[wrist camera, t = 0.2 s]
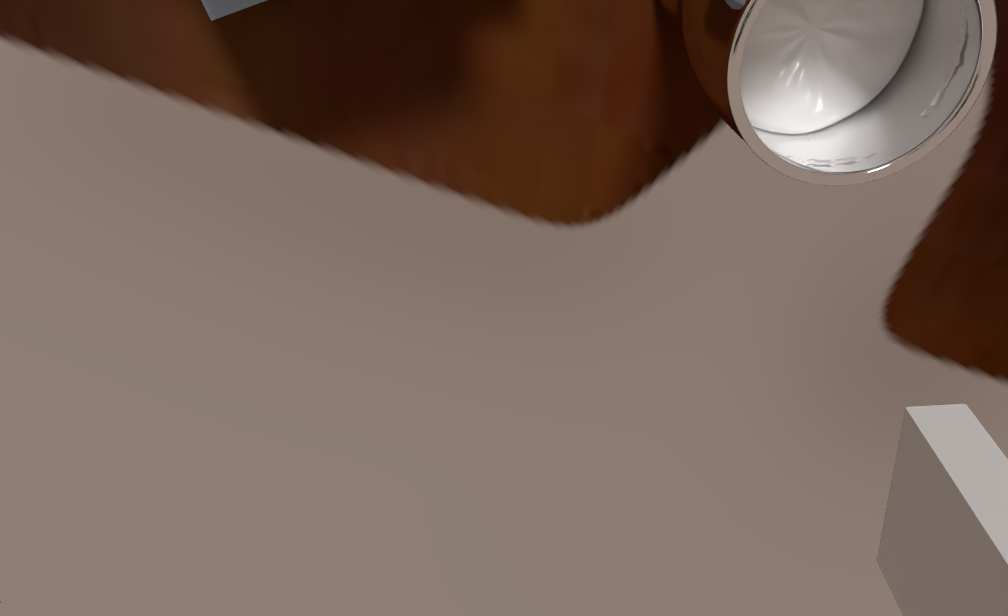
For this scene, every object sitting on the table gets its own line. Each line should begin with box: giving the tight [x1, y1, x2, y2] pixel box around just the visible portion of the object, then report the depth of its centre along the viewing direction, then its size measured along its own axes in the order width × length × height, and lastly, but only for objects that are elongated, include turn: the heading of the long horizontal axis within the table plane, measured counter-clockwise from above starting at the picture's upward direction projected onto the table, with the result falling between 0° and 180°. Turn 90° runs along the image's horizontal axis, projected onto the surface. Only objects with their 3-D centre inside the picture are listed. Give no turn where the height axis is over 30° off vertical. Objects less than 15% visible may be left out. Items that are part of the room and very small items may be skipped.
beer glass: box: [659, 0, 997, 186], centre depth 28 cm, size 7×7×15 cm
